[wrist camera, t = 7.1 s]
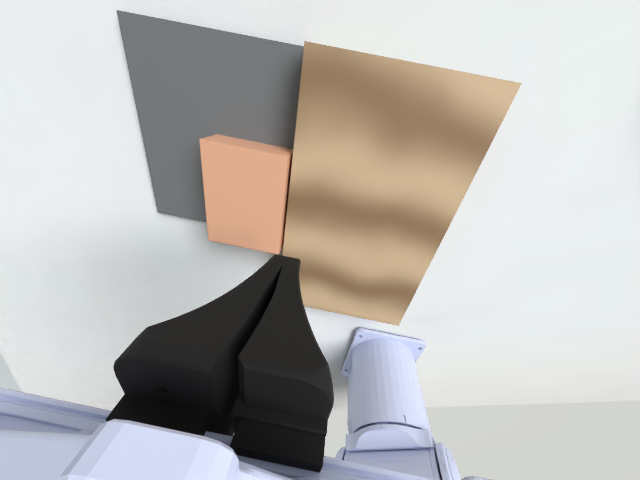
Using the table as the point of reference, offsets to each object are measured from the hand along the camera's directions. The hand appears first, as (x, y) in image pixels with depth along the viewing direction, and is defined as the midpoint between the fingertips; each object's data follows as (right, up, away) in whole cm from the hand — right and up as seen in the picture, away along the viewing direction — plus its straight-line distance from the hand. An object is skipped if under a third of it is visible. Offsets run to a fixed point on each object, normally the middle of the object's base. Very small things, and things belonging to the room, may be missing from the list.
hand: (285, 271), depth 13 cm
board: (+6, +4, +8) cm, 10 cm away
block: (-4, +6, +7) cm, 10 cm away
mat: (-6, +9, +6) cm, 13 cm away
